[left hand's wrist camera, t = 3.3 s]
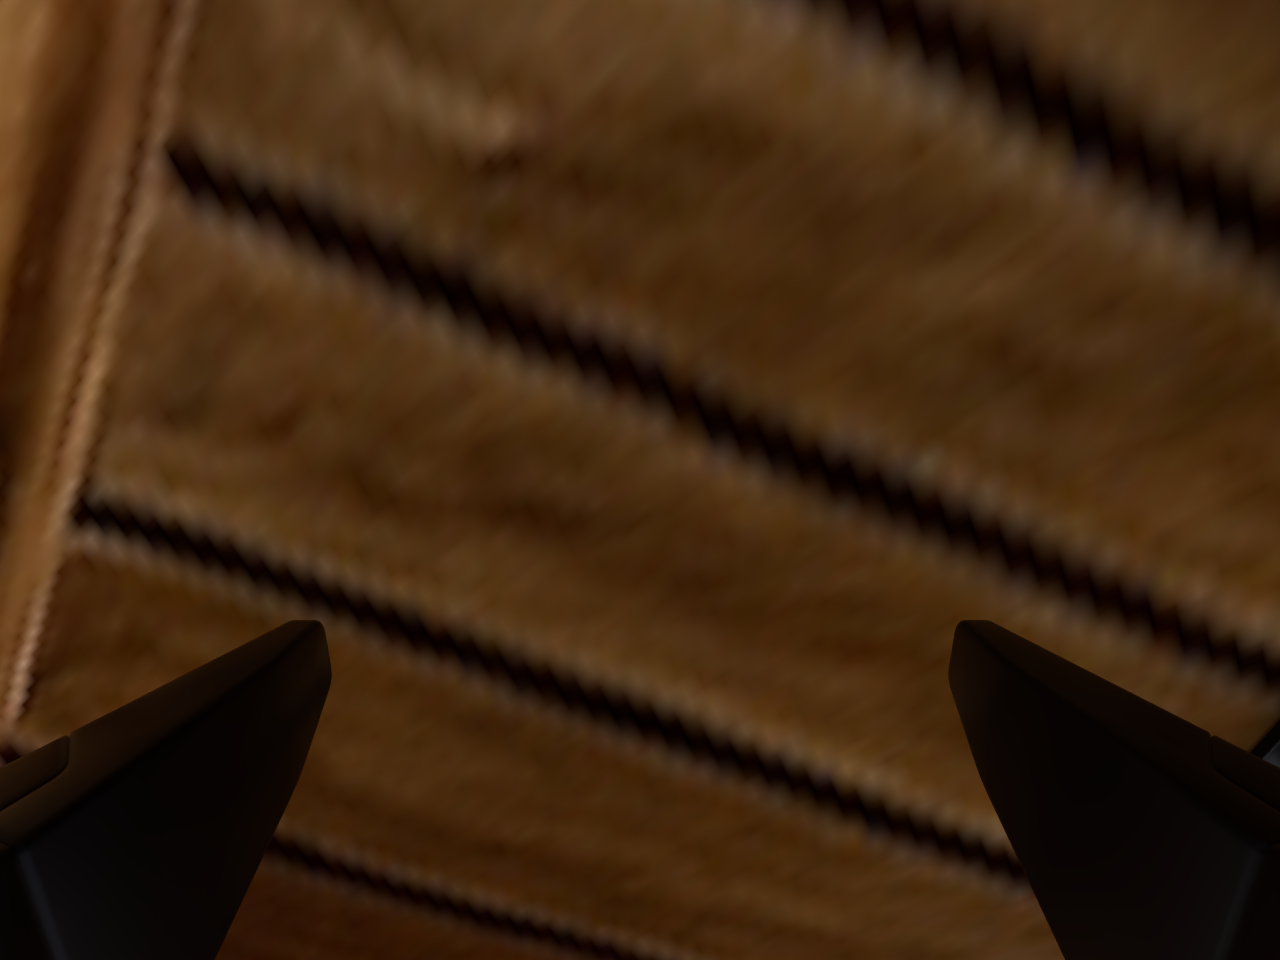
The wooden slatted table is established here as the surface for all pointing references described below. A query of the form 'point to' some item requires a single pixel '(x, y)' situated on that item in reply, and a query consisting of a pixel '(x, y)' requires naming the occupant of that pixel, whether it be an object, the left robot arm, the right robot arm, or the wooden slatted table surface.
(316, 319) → the wooden slatted table surface
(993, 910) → the wooden slatted table surface
